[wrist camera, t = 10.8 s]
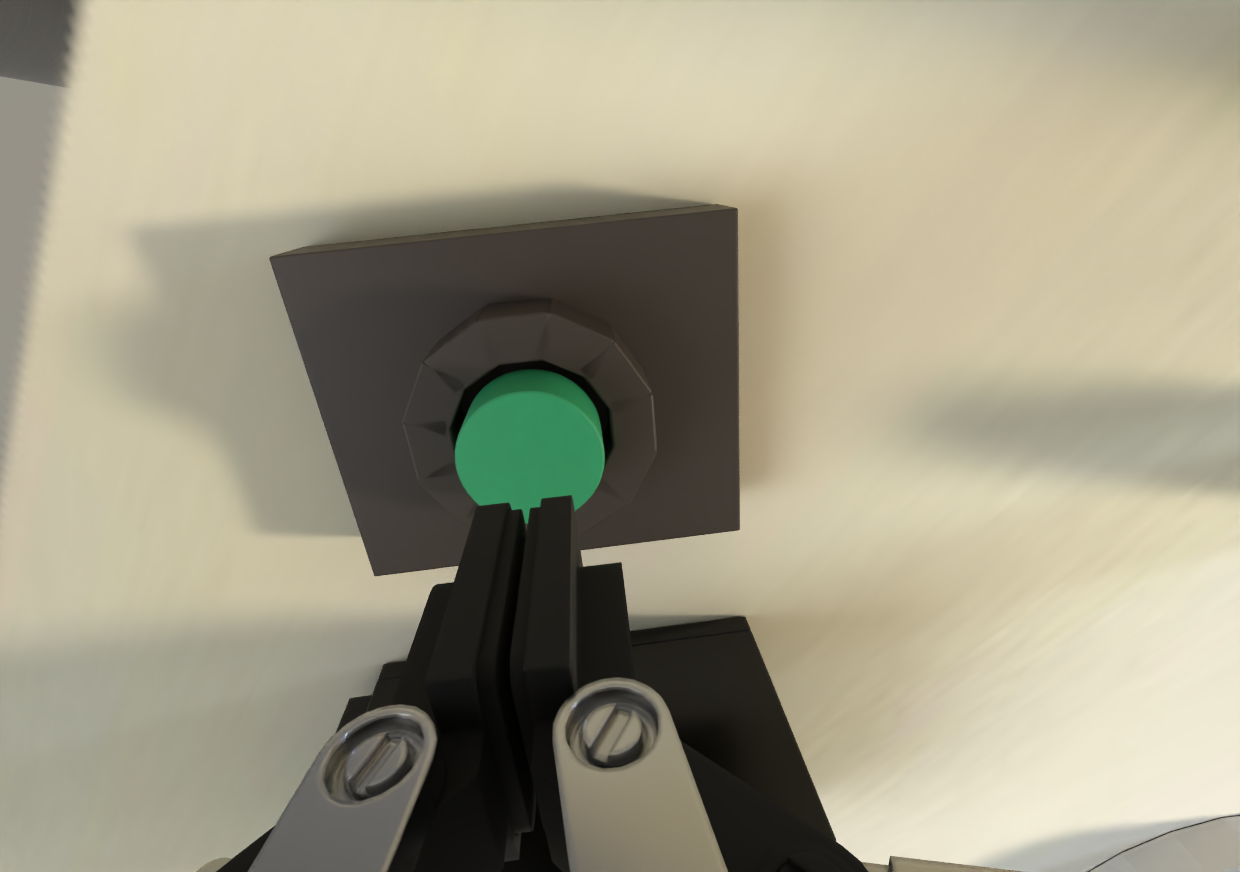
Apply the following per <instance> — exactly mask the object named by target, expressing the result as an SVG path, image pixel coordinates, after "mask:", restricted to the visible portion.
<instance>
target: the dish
mask: <svg viewBox="0 0 1240 872" xmlns="http://www.w3.org/2000/svg"><path fill="white" fill-rule="evenodd" d="M1090 872H1240V816H1235V817H1227V818H1220V819H1217V820H1213V821H1210V822H1206V823H1202V824H1199V825H1195V826H1192V827H1188V828H1184V829H1181V830H1177V831H1174V832H1170V833H1168V834H1166V835H1163V836H1161V837H1158V838H1156V839H1154V840H1151V841H1149V842H1147V843H1144V844H1142V845H1139V846H1137V847H1135V848H1132V849H1130V850H1128V851H1125V852H1123V853H1121V854H1119V855H1117V856H1116V857H1114V858H1112V859H1110V860H1109V861H1107V862H1105V863H1103V864H1102V865H1100V866H1098V867H1097V868H1095V869H1093V870H1091V871H1090Z"/></svg>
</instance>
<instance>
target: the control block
mask: <svg viewBox="0 0 1240 872" xmlns="http://www.w3.org/2000/svg"><path fill="white" fill-rule="evenodd" d="M270 262H271V265H272V268H273V271H274V274H275V277H276V280H277V283H278V286H279V289H280V292H281V295H282V298H283V301H284V304H285V307H286V310H287V313H288V316H289V319H290V322H291V325H292V328H293V331H294V334H295V337H296V340H297V343H298V346H299V349H300V352H301V355H302V358H303V361H304V364H305V367H306V371H307V374H308V377H309V380H310V383H311V386H312V389H313V392H314V395H315V398H316V401H317V404H318V407H319V410H320V413H321V416H322V419H323V422H324V425H325V428H326V431H327V434H328V437H329V440H330V443H331V446H332V449H333V452H334V455H335V458H336V461H337V464H338V467H339V470H340V473H341V476H342V479H343V482H344V485H345V488H346V491H347V494H348V497H349V500H350V503H351V506H352V509H353V512H354V515H355V518H356V521H357V525H358V528H359V531H360V534H361V537H362V540H363V543H364V546H365V549H366V552H367V555H368V558H369V561H370V564H371V567H372V570H373V573H374V576H381V575H389V574H397V573H405V572H413V571H420V570H428V569H436V568H444V567H452V566H459V564H460V561H461V557H462V554H463V550H464V547H465V544H466V540H467V537H468V534H469V530H470V527H471V524H472V520H473V517H474V514H475V510H476V508H477V506H479V505H478V504H477V503H476V502H475V501H474V500H473V499H472V498H471V497H470V495H469V494H468V493H467V491H466V490H465V488H464V487H463V485H462V483H461V481H460V479H459V476H458V473H457V470H456V464H455V447H456V441H457V438H458V435H459V432H460V430H461V427H462V425H463V422H464V420H465V417H466V415H467V412H468V410H469V408H470V406H471V404H472V401H473V400H474V398H475V397H476V395H477V394H478V393H479V392H480V391H481V390H482V388H484V387H485V386H486V385H487V384H488V383H489V382H491V381H493V380H494V379H496V378H497V377H500V376H502V375H504V374H506V373H510V372H513V371H517V370H523V369H539V370H546V371H551V372H554V373H557V374H560V375H562V376H564V377H566V378H568V379H570V380H571V381H573V382H574V383H576V384H577V385H578V386H579V387H580V388H582V389H583V390H584V391H585V393H586V394H587V395H588V396H589V397H590V399H591V400H592V402H593V404H594V406H595V408H596V410H597V412H598V415H599V419H600V424H601V430H602V438H603V445H604V452H605V463H604V470H603V474H602V478H601V480H600V482H599V485H598V486H597V488H596V490H595V492H594V493H593V494H592V496H591V497H590V498H589V499H588V500H587V501H586V502H585V503H584V504H583V505H582V506H581V507H579V508H578V509H577V510H576V511H575V516H576V523H577V530H578V537H579V544H580V550H586V549H594V548H602V547H610V546H618V545H626V544H634V543H642V542H649V541H657V540H665V539H673V538H681V537H689V536H697V535H705V534H713V533H720V532H728V531H736V530H739V529H740V487H739V322H738V209H737V208H733V207H728V206H723V205H718V204H714V205H704V206H694V207H685V208H675V209H665V210H656V211H646V212H636V213H627V214H617V215H607V216H598V217H588V218H578V219H569V220H559V221H549V222H540V223H530V224H520V225H511V226H501V227H491V228H482V229H472V230H463V231H453V232H443V233H434V234H424V235H414V236H405V237H395V238H385V239H376V240H366V241H356V242H347V243H337V244H327V245H318V246H308V247H302V248H299V249H295V250H292V251H288V252H285V253H281V254H278V255H274V256H271V257H270ZM525 525H526V531H527V526H528V524H526V523H525Z"/></svg>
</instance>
